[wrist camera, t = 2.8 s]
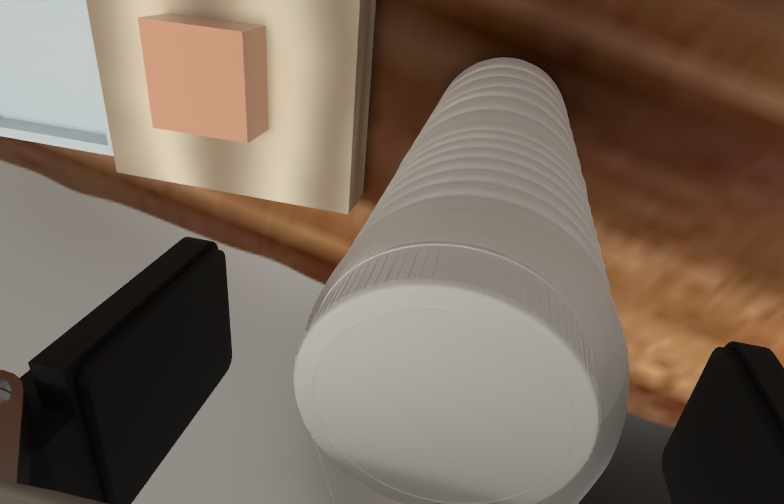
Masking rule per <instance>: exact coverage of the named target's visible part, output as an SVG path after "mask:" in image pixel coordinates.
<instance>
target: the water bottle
mask: <svg viewBox="0 0 784 504" xmlns="http://www.w3.org/2000/svg"><path fill="white" fill-rule="evenodd" d="M300 345H301V346H300ZM300 345H299V346H298V351H297V353H296V356H297V357H296V356H295V357H296V359H295V361H294V364H295V366H294V368H293V372H294V375H293V380H294V383H293V386H294V390H295V391H294V393H295V397H296V401H297V405H298V408H299V411H300V414H301V417H302V419H303V421H304V423H305V425H306V427H307V429H308V431H309V432H310V434H311V436H312V437H313V440H314V444H315V447H316V450H317V453H318V456H319V459H320V462H321V466H322V469H323V472H324V475H325V478H326V481H327V484H328V487H329V490H330V493H331V496H332V500H333V503H334V504H578V503H579V501H580V500H581V499H582V498H583V497H584V495H585V494H586V493H587V492H588V491H589V489H590V488H591V487H592V486H593V484H594V483H595V482H596V480H597V479H598V478H599V477H600V475H601V474H602V472H603V471H604V469H605V468H606V466H607V465H608V463H609V461H610V459H611V457H612V455H613V453H614V451H615V449H616V446H617V444H618V441H619V438H620V435H621V432H622V429H623V425H624V421H625V417H626V411H627V405H628V396H629V364H628V350H627V344H626V339H625V335H624V331H623V327H622V324H621V321H620V319H619V316H618V313H617V310H616V307H615V304H614V301H613V299H612V297H611V294H610V285H609V280H608V278H607V276H606V273H605V264H604V261H603V259H602V256H601V248H600V245H599V243H598V240H597V232H596V230H595V228H594V220H593V218H592V215H591V209H590V206H589V203H588V197H587V189H586V184H585V180H584V178H583V176H582V173H581V165H580V161H579V159H578V156H577V151H576V146H575V143H574V141H573V134H572V131H571V128H570V123H569V119H568V116H567V109H566V107H565V104H564V100H563V97H562V95H561V93H560V91H559V89H558V87H557V85H556V84H555V83H554V81H553V80H552V79H551V78H550V77H549V76H548V75H547V74H546V73H545V72H544V71H543V70H541V69H540V68H539V67H537V66H535V65H533V64H531V63H528V62H526V61H524V60H521V59H516V58H508V57H500V58H492V59H489V60H484V61H481V62H478V63H476V64H474V65H472V66H470V67H469V68H467V69H466V70H464V71H463V72H462V73H460V74H459V75H458V76H457V77H456V78H455V79H454V80H453V81H452V83H451V84H450V85H449V87H448V88H447V90H446V91H445V93H444V94H443V96H442V98H441V100H440V101H439V103H438V104H437V106H436V108H435V110H434V111H433V113H432V114H431V116H430V117H429V119H428V121H427V122H426V124H425V125H424V127H423V129H422V130H421V132H420V134H419V135H418V137H417V138H416V140H415V141H414V143H413V145H412V147H411V149H410V150H409V151H408V153H407V154H406V156H405V157H404V159H403V161H402V162H401V164H400V166H399V168H398V170H397V172H396V174H395V176H394V177H393V179H392V180H391V182H390V184H389V185H388V187H387V188H386V190H385V192H384V194H383V195H382V197H381V198H380V200H379V202H378V203H377V205H376V207H375V208H374V210H373V211H372V213H371V215H370V216H369V218H368V220H367V221H366V223H365V224H364V226H363V228H362V229H361V231H360V233H359V234H358V236H357V237H356V239H355V240H354V242H353V244H352V246H351V248H350V249H349V251H348V252H347V254H346V255H345V256H344V258H343V259H342V260H341V262H340V263H339V264H338V266H337V267H336V269H335V270H334V271H333V273H332V275H331V276H330V278H329V279H328V281H327V283H326V284H325V286H324V288H323V290H322V291H321V293H320V295H319V297H318V299H317V301H316V303H315V305H314V307H313V310H312V313H311V315H310V318H309V321H308V324H307V328H306V331H305V334H304V336H303V338H302V340H301V342H300ZM299 347H300V348H299ZM297 354H298V355H297Z"/></svg>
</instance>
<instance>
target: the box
mask: <svg viewBox="0 0 784 504" xmlns="http://www.w3.org/2000/svg"><path fill="white" fill-rule="evenodd" d="M0 136H3V137H9V138H14V139H20V140H26V141H31V142H37V143H43V144H48V145H54V146H59V147H65V148H71V149H76V150H82V151H88V152H93V153H99V154H104V155H110V156H114V153H113V148H112V142H111V137H110V131H109V125H108V120H107V114H106V109H105V103H104V98H103V92H102V87H101V81H100V75H99V70H98V64H97V59H96V53H95V48H94V42H93V37H92V31H91V26H90V20H89V14H88V9H87V3H86V0H0Z"/></svg>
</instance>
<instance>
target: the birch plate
mask: <svg viewBox="0 0 784 504" xmlns="http://www.w3.org/2000/svg"><path fill="white" fill-rule="evenodd" d="M86 3H87V9H88V14H89V20H90V26H91V31H92V37H93V42H94V48H95V53H96V59H97V64H98V70H99V75H100V81H101V87H102V92H103V98H104V103H105V109H106V114H107V120H108V125H109V131H110V137H111V142H112V148H113V153H114V159H115V164H116V170H117V172H119V173H124V174H130V175H135V176H141V177H146V178H152V179H157V180H163V181H168V182H174V183H179V184H185V185H190V186H195V187H201V188H206V189H212V190H217V191H223V192H228V193H234V194H239V195H245V196H250V197H256V198H261V199H267V200H272V201H278V202H283V203H289V204H294V205H300V206H305V207H311V208H316V209H322V210H327V211H332V212H338V213H343V214H349V213H350V211H351V210H352V209H353V207H354V206H355V204H356V203H357V201H358V200H359V199H360V197H361V196H362V194H363V187H364V172H365V157H366V143H367V128H368V113H369V99H370V84H371V69H372V54H373V40H374V25H375V10H376V0H86ZM165 13H173V14H180V15H188V16H196V17H203V18H211V19H218V20H226V21H234V22H241V23H249V24H256V25H264V26H266V53H267V90H268V127H269V130H267V131H266V132H264V133H263V134H261V135H260V136H258V137H257V138H255V139H254V140H252V141H251V142H249V143H242V142H236V141H230V140H224V139H218V138H212V137H206V136H200V135H194V134H188V133H182V132H176V131H170V130H164V129H158V128H153V125H152V117H151V110H150V103H149V96H148V88H147V81H146V74H145V67H144V59H143V52H142V45H141V38H140V30H139V23H138V18H139V17H145V16H152V15H159V14H165Z"/></svg>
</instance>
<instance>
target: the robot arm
mask: <svg viewBox="0 0 784 504" xmlns="http://www.w3.org/2000/svg"><path fill="white" fill-rule="evenodd" d="M231 359H232V347H231V332H230V317H229V304H228V289H227V274H226V259H225V254H224V252H223V251H222V250H218V246H217V244H216V243H215V242H212V241H207V240H202V239H196V238H191V237H185V238H183V239H181V240H180V241H179V242H178V243H176V244H175V245H174V246H173V247H172V248H171V249H169V250H168V251H166V252H165V253H164V254H163V255H161V256H160V257H159V258H158V259H157V260H155V261H154V262H153V263H152V264H150V265H149V266H148V267H147V268H146V269H144V270H143V271H142V272H140V273H139V274H138V275H137V276H135V277H134V278H133V279H132V280H130V281H129V282H128V283H127V284H125V285H124V286H123V287H122V288H120V289H119V290H118V291H117V292H116V293H114V294H113V295H112V296H110V297H109V298H108V299H107V300H106V301H104V302H103V303H102V304H100V305H99V306H98V307H97V308H96V309H94V310H93V311H92V312H90V313H89V314H88V315H87V316H85V317H84V318H83V319H82V320H81V321H79V322H78V323H77V324H76V325H74V326H73V327H72V328H71V329H69V330H68V331H67V332H66V333H65V334H63V335H62V336H61V337H59V338H58V339H57V340H56V341H54V342H53V343H52V344H51V345H49V346H48V347H47V348H46V349H45V350H43V351H42V352H41V353H39V354H38V355H37V356H36V357H34V358H33V359H32V360H31V361H29V363H28V364H29V367H30V370H29V371H28V372H27V373H25V374H24V375H23V376H22V377H21V378H18V377H17V376H16V375H15V374H13V373H10V372H7V371H4V370H0V504H131V503H132V502H133V501H134V499H135V498H136V496H137V495H138V494H139V492H140V491H141V489H142V488H143V487H144V485H145V484H146V482H147V481H148V480H149V478H150V477H151V476H152V474H153V473H154V472H155V470H156V469H157V467H158V466H159V465H160V463H161V462H162V461H163V459H164V458H165V456H166V455H167V454H168V452H169V451H170V449H171V448H172V446H173V445H174V444H175V442H176V441H177V439H178V438H179V437H180V435H181V434H182V433H183V431H184V430H185V429H186V427H187V426H188V425H189V423H190V422H191V420H192V419H193V418H194V416H195V415H196V413H197V412H198V411H199V409H200V408H201V406H202V405H203V404H204V403H205V401H206V400H207V398H208V397H209V395H210V394H211V393H212V391H213V390H214V389H215V387H216V386H217V385H218V383H219V382H220V381H221V379H222V378H223V376H224V375H225V373H226V372H227V370H228V369H229V366H230V363H231ZM662 470H663V474H664V478H665V482H666V485H667V489H668V492H669V495H670V499H671V502H672V504H784V368H783V366H782V365H781V363H780V362H779V360H778V359H777V357H776V356H775V354H774V353H773V352H772V351H771V350H770V349H768V348H765V347H760V346H755V345H750V344H744V343H739V342H734V341H733V342H729V343H728V344H727V345H725V347H724V348H722V347H717V348H716V349H715V350H714V351H713V352H712V354H711V356H710V358H709V360H708V362H707V364H706V366H705V368H704V370H703V372H702V374H701V376H700V378H699V380H698V382H697V384H696V386H695V388H694V390H693V392H692V394H691V396H690V398H689V400H688V402H687V404H686V406H685V408H684V410H683V412H682V414H681V416H680V418H679V420H678V422H677V424H676V426H675V428H674V430H673V432H672V435H671V437H670V439H669V441H668V443H667V445H666V447H665V449H664V451H663V455H662Z"/></svg>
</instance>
